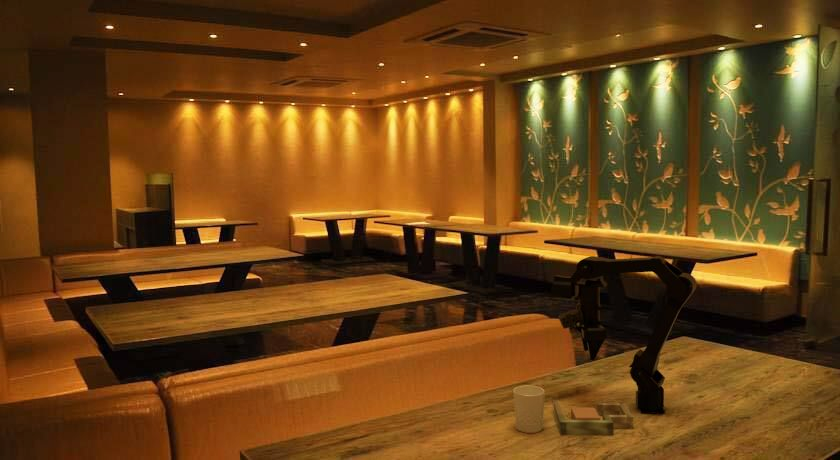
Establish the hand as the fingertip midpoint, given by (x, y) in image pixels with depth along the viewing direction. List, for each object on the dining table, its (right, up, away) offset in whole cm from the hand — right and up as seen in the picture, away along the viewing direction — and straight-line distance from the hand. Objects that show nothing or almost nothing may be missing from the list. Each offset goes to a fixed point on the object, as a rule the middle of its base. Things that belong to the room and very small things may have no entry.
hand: (589, 355), depth 190 cm
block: (-6, -15, -18) cm, 24 cm away
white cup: (-20, -16, -18) cm, 31 cm away
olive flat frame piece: (-3, -15, -16) cm, 22 cm away
